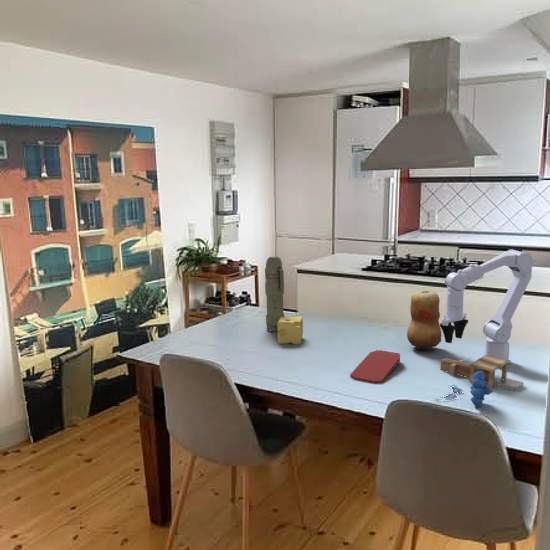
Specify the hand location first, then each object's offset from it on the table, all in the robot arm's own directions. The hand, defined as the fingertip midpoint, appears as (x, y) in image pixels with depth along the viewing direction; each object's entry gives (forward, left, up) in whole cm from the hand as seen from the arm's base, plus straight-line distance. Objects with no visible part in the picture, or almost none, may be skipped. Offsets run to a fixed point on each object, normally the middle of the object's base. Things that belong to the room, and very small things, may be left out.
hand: (453, 340), depth 202 cm
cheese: (+18, -69, -11) cm, 72 cm away
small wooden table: (+5, +16, -10) cm, 20 cm away
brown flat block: (+5, +24, -11) cm, 27 cm away
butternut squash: (-11, -19, -11) cm, 24 cm away
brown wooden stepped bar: (+5, +8, -11) cm, 14 cm away
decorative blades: (+24, +12, -11) cm, 29 cm away
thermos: (+10, -87, -11) cm, 88 cm away
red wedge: (+22, -18, -11) cm, 31 cm away
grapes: (+27, +24, -11) cm, 38 cm away
